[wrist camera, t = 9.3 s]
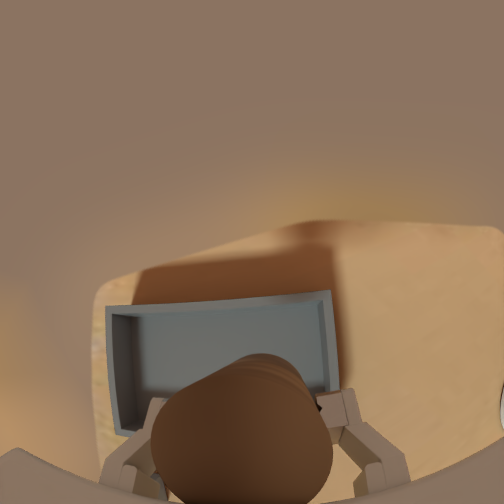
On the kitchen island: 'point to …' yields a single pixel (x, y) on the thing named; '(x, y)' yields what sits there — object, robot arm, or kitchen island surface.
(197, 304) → the tote
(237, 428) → the wooden cylinder
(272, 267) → the kitchen island surface
